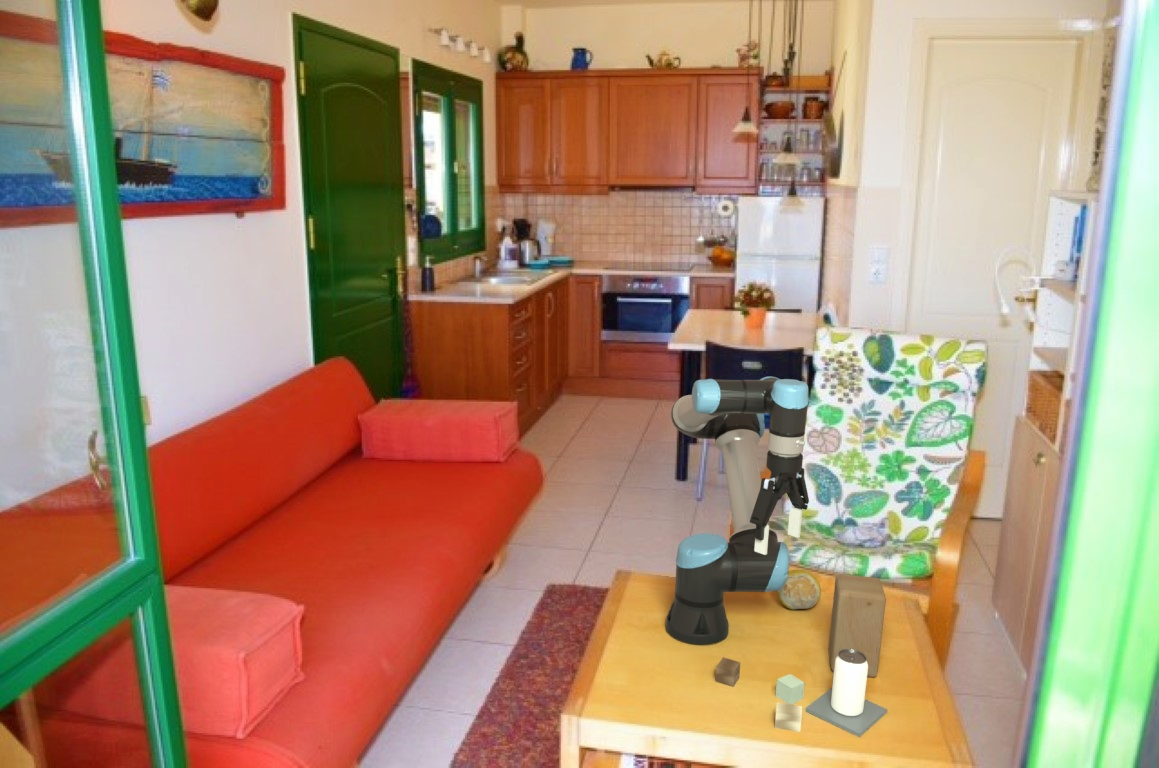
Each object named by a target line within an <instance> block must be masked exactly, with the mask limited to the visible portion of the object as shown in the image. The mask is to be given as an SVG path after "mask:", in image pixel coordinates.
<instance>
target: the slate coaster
mask: <svg viewBox="0 0 1159 768" xmlns="http://www.w3.org/2000/svg"><path fill="white" fill-rule="evenodd" d="M831 696H832V687H831V688H829V689H828V690H827V691H825V692H824V693H823V694H821V695H820V696H819V697H817V698H816V699H815V700H814V701H813V702H811V703H810V704H809V705H807V706H806V707H805V712H806V713H809V714H810V715H813V716H814V717H816V718H818V719H821V720H823V721H825V722H826V723H830V724H831V725H833V726H836V727H837V728H840V729H841V730H844V731H845V732H847V733H850V734H852V735H854V736H856V737H858V738H860V737H861V736H863V735H864V734H865V733H866V732H867V731H868V730H870V729H871V727H872V726H874V725H875V724H876V723H877V722H878V721H879V720H880V719H882V718H883V717H884V716H885V715H886V714H887V713H888V708H886V707H883V705H882V706H881V705H879V704H877V703H874V702H872V701H870V700H868V699H867V698H865V699H864V708H863V712H862V713H861V714H860V715H858V716H854V717H849V716H844V715H841V714H839V713H837V712H836V711H835V710H834V709H833V708H832V706H831Z"/></svg>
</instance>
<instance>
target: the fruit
mask: <svg viewBox="0 0 1159 768" xmlns="http://www.w3.org/2000/svg"><path fill="white" fill-rule="evenodd" d="M776 592H777V596H778V599H779V601H780V603H781V604H782V605H783V606H784V607H785V608H787V609H790V610H799V609H800V610H803V609H812V608H813V607H814V606H816V605H817V604H818V602H819V601H820V599H821V595H822V589H821V584H820V582H819V580H818V579H817V577H816V576H815V575H814V574H813V573H812V572H810V571H807V570H804V569H790V570H788V576H787V580H786V583H785V585H784V586H783V588H782V589H780V590H778V591H776Z"/></svg>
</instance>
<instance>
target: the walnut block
mask: <svg viewBox="0 0 1159 768" xmlns="http://www.w3.org/2000/svg"><path fill="white" fill-rule="evenodd" d="M715 671H716V672H715V682H716V683H718V684H722V685H724V686H725V685H726V686H728V687H732V688H734V687H735V685H736V684H737V682H738V681H739V680H740V674H741V673H740V671H741V661H737V660H733V659H730V658H726V657H722V658H721V659H720V661H719V662H718V663H717V664H716V670H715Z"/></svg>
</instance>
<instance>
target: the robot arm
mask: <svg viewBox="0 0 1159 768" xmlns="http://www.w3.org/2000/svg"><path fill="white" fill-rule="evenodd" d="M691 390H692V391H691V394H688V395H683V396H681V397H680V398H678V399H677V400H676V401H675V402H674V404H673V405H672V407H671V411H670V419H671V422H672V424H673V426H674V427H675V428H676V429H677V430H678V431H679V432H680V433H682V434H684V435H686V436H689V437H690V438H695V439H702V440H714V443H715V447H716V449H717V450H719V451H720V452H722V457H723V463H724V464H723V465H724V471H725V478H726V486H727V493H728V499H729V506H730V513H731V518H732V519H731V520H732V526H733V527H732V528H733V533H732V534H731V535H730V536H729V539H728V541H727V539H726V538H725V537H724V536H723V535H720V534H714V533H709V532H705V533H702V532H701V533H697V534H696V533H695V534H692V535H689V536H687V537H685V538H684V539H682V540H681V541H680V542H679V544H678V547H677V552H676V558H675V563H676V564H675V565H676V567H675V582H674V583H675V584H674V585H675V587H674V598H673V601H672V603H671V605H670V607H669V609H668V612H667V615H666V619H665V629H666V630H665V631H666V632H667V633H668V634H669V635H670V636H671V637H672V638H674V639H675V640H677V641H680V642H683V643H686V644H689V645H697V646H709V645H714V644H717V643H721V642H722V641H724V640H725V639H726V638H727V637H728V635H729V627H730V625H729V624H730V623H729V620H728V618H727V613H726V608H725V604H724V594H725V593H767V592H777V591H778V590H780V589H782V588H783V586H784V585H785V583H786V580H787V576H788V571H789V569H790V553H789V547H788V544H787V543H786V542H783V541H779V540H778V534H777V532H776V531H775V530H774V529H772V528H771V527H770V525H769V521H770V519H771V516H772V515H773V512H774V511H775V508H776V506H777V503H778V502H779V500H781V499H782V498H783V496H785V495H787V497H788V499H789V501H790V503H791V505H792V506H791V507H789V515H788V525H787V535H788V536H791V537H795V538H796V539H800V537H801V527H802V518H803V510H807V509H808V507H809V505H808V504H809V503H810V497H809V495H808V489H807V484H806V479H805V468H803V463H804V461H803V460H804V459H803V458H804V455H803V454H802V453H803V452H804V446H805V444H806V441H805V434H806V425H807V415H808V405H809V400H810V398H809V386H808V384H807V383H806V382H805V381H800V380H798V379H792V378H791V379H790V378H784V379H780V378H778V377H776V376H771V375H770V376H765V377H762V378H760V379H713V378H707V379H698V380H696V381H695V382H694V383H693V386H692V389H691ZM764 414H765V415H766V414H768V415H769V428H768V439H767V449H768V451H767V453H766V468H767V469H768V470H769V471H770V476H769V478H764V477H763V478H762V477H761V473H760V467H759V461H758V455H757V450H756V447H757V446H758V444H759V443H760V441H761V440H760V439H762V438H763V436H764V434H765V427H766V425H765V415H764Z"/></svg>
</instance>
